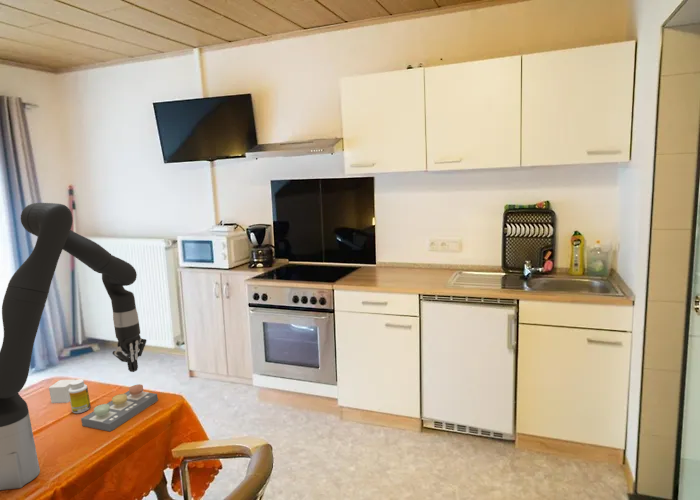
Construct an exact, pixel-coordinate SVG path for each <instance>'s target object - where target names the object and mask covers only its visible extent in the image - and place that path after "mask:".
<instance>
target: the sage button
mask: <svg viewBox="0 0 700 500" xmlns="http://www.w3.org/2000/svg"><path fill="white" fill-rule="evenodd" d="M93 411H94V414H95V415H96V416H100V415H104V414H107V413H108V412H109V411H110V406H109V404H107V403H101V404H99V405H97V406H95V407H94V408H93Z"/></svg>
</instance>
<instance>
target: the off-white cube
mask: <svg viewBox="0 0 700 500" xmlns="http://www.w3.org/2000/svg"><path fill="white" fill-rule="evenodd" d="M75 380H77V379H59V380H58V381H56V382H55V383H54V384H52V385H50V386H49V387H48V391H49V396H50V401H51V404H66V403H67V404H68V403H69V402H70V397H69V389H70V388H71V387H70V383H71V382H72V381H75Z"/></svg>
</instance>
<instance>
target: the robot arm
mask: <svg viewBox="0 0 700 500" xmlns="http://www.w3.org/2000/svg"><path fill="white" fill-rule="evenodd" d="M20 213H21V214H20V223H21V225H22V227H23V228H24V229H25V231H27V232H28V233H30V234H32V235H33V236H35V237H37V238H36V241H35V245H34V247H33V250H32V251H31V253H30V254H29V256H28V257H27V259H26V260H25V261H24V262H23V263H22V264H21V265H20V266H19V268H18V269H17V270H16V271H15V272H14V274H12V276H11V277H10V280H9V281H8V284H7V287H6V289H5V293H4V297H3V298H2V299H3V300H2V305H1V319H2V326H3V327H2V328H3V338H2V343H1V348H0V491H4V490H14V489H22V488H23V486H25V485H26V484H28V483H30V482H31V481H33V480H34V479H35V478H37V477H38V476H39V474H40V472H41V470H40V464H39V459H38V454H37V449H36V442H35V438H34V433H33V432H34V431H33V428H32V422H31V417H30V412H29V406H28V403H27V401H26V400H24V398H23V397H21V394H19V392H20V391H21V390H22V389H23V388H24V387H25V385H26V382H27V380H28V376H29V373H30V367H31V361H32V355H33V349H34V344H35V340H36V337H37V333H38V329H39V326H40V322H41V320H42V319H41V318H42V315H43V312H44V309H45V307H46V303H47V300H48V296H49V292H50V288H51V284H52V281H53V278H54V274H55V273H56V272H55V271H56V269H57V267H58V266H57V265H58V262H59V259H60V257H61V254H62V252H63V251H64V252H66V253H68V254H69V255H71V256H73V257H74V258H76V259H77V260H79V261H80V262H81V263H82V264H84V265H85V266H87V267H88V268H90V269H91V270H92V271H94V272H96V273H97V274H101V279H102V285H103V286H104V288H105V291H106V292H107V294H108V297H109V299H110V301H111V308H112V314H113V315H112V318H113V319H112V321H113V326H114V334H115V338H116V340H117V348H116V350H113V351H112V355H113V356H114V357H116V358H117V359H118V360H119V361H120V362H121V363H123V362H124V363H127V369H128V371H129V372H131V373H135V372H137V371H138V369H139V364H138V359H139V358H140V357H141V356H142V354H143V351H144V350H145V347H146V344H147V341H148V340H147V339H145V338H142V337H141V335H140V334H141V327H140V319H139V314H138V312H137V307H136V299H135V294H134V293H133V292H132V291H130V290H127V289H125V288H124V286H125V287H126V286H130V285H132V284H134V283H135V282H136V280H137V275H138V274H137V271H136V269H135V268H134V266H133V265H132V264H131V263H129V262H127V261H125V260H123V259H122V258H119V257H117V256H115V255H113V254H112V253H110V251H108V250H107V249H105V248H104V247H103V246H101V245H100V244H99V243H97V242H95V241H93V240H91V239H90V238H88V237H85V236H83V235H81V234H78V233H77V232H75V231H73V230H72V227H73V222H74V221H73V213H72V210H71V209H70V208H69V207H68V205H67V206H66V205H65V204H61V203H53V202H35V203H30V204H28V205H27V206H25V207H24V208H23V209H22V211H21V212H20Z"/></svg>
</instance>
